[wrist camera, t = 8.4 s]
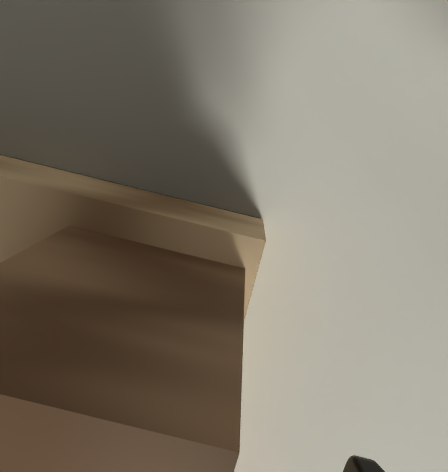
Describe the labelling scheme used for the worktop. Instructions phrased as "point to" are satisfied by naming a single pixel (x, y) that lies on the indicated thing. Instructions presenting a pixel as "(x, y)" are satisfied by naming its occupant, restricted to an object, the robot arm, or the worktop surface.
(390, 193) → the worktop surface
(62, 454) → the block
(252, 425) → the worktop surface
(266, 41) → the worktop surface
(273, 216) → the worktop surface
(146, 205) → the wooden board with hole
